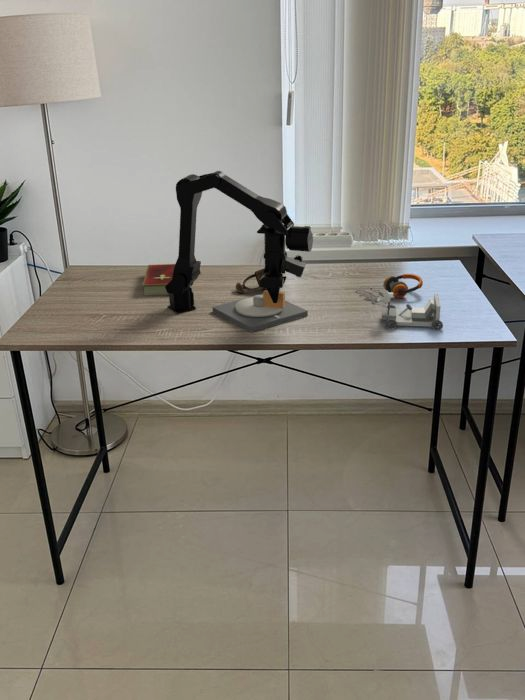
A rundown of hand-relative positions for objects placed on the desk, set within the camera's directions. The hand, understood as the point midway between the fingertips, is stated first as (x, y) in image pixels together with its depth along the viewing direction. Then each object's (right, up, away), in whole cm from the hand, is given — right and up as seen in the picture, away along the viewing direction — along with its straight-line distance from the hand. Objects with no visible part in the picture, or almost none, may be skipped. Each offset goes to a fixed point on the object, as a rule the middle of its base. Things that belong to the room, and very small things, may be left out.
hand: (275, 302), depth 209 cm
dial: (-4, -1, +5) cm, 7 cm away
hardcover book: (-36, +8, +32) cm, 49 cm away
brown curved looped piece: (-6, +6, +25) cm, 26 cm away
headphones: (+36, +3, +17) cm, 40 cm away
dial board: (-4, -3, +6) cm, 8 cm away
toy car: (+38, -6, -2) cm, 38 cm away
